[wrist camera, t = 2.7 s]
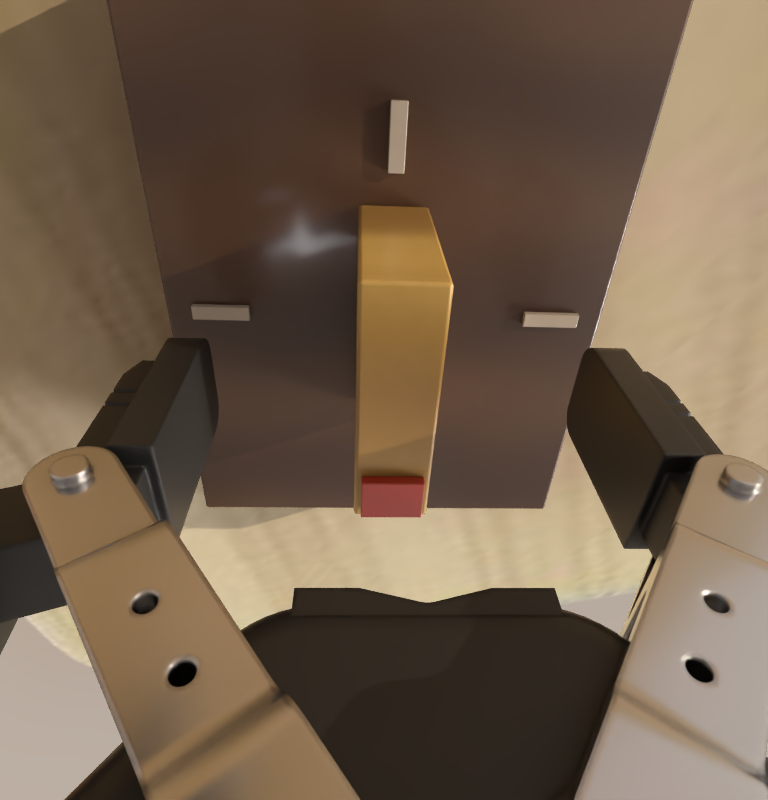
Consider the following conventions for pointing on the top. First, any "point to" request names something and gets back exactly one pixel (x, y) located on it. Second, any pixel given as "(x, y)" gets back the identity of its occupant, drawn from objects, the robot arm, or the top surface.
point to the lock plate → (390, 186)
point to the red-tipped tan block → (398, 358)
